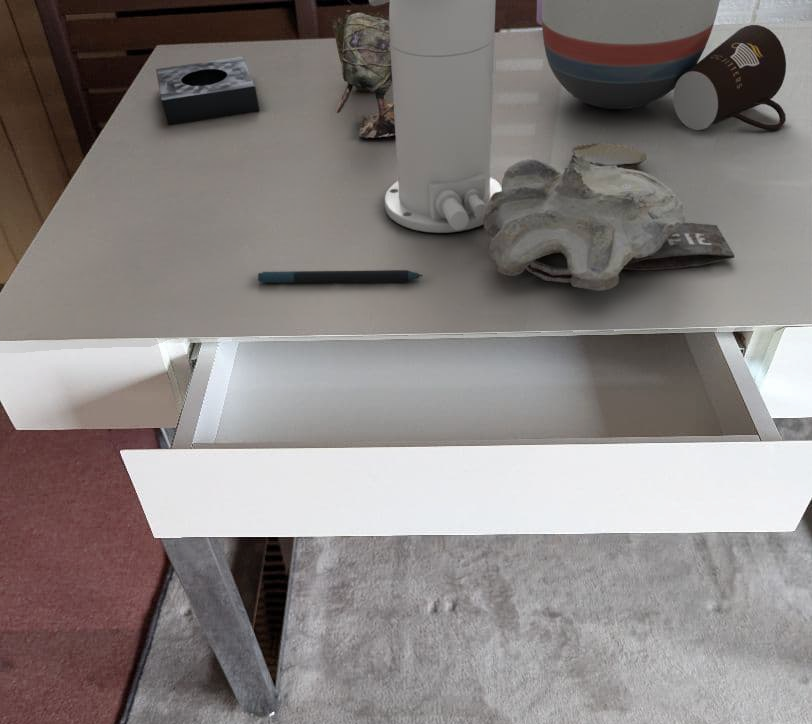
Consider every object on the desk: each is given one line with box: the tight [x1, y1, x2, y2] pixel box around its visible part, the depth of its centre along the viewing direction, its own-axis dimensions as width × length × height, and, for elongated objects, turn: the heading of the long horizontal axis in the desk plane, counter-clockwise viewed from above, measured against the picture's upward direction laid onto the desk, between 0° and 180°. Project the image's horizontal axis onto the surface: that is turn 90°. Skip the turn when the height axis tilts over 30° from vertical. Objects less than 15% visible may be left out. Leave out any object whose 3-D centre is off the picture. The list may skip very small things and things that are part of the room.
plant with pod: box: [335, 9, 395, 139], centre depth 91 cm, size 8×11×20 cm
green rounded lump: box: [332, 12, 389, 93], centre depth 105 cm, size 8×7×8 cm
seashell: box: [571, 142, 647, 169], centre depth 87 cm, size 8×3×8 cm
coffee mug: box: [672, 24, 787, 131], centre depth 92 cm, size 12×9×10 cm
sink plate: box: [155, 56, 260, 126], centre depth 106 cm, size 12×12×3 cm
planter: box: [541, 0, 721, 110], centre depth 92 cm, size 20×20×21 cm
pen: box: [257, 269, 424, 284], centre depth 75 cm, size 16×1×1 cm, turn 86°
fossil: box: [483, 154, 686, 292], centre depth 73 cm, size 18×11×15 cm
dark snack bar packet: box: [525, 222, 735, 284], centre depth 75 cm, size 8×19×2 cm, turn 93°
